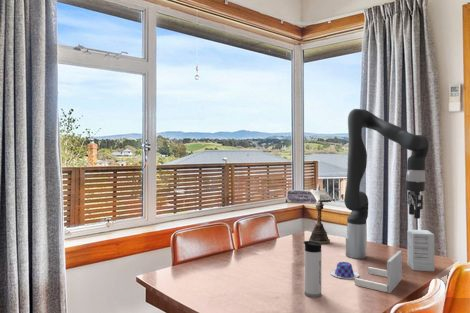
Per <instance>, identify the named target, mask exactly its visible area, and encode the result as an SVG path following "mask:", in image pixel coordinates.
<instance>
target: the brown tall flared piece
mask: <svg viewBox="0 0 470 313" xmlns="http://www.w3.org/2000/svg"><path fill="white" fill-rule="evenodd" d="M316 186H317V187H316V190H315V189H313V188H310V189H309V191H310V193H311V194H312V196H314V199H315V200H316V201H315V204H314V205H315V210H316V212H317V214H316V215H317V216H316V218H317V220H316V221H317V222H316V223H315V224H314V228H313V229H312V231H311V235H310V236H309V238H308V241H313V242H318V243H320V244H321V245H328V244H329V243H331V239H329V236H328V232H327V230H326V229H325V227H324V224H323V223H322V217H323V216H322V211H323V209H324V205H325V204H324V203H331V202H332V201H333V202H334V203H336V202H335V200H336V199H335V198H332V197H331V195H330V194H329V192H328V191H327V187H326V186H325V188H322V190H321V189H320V188H321V187H320V186H321V185H320V184H319V183H317V185H316Z"/></svg>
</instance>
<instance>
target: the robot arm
mask: <svg viewBox="0 0 470 313" xmlns="http://www.w3.org/2000/svg"><path fill="white" fill-rule="evenodd" d="M364 128H366V129H370V130H373V131H376V132H377V133H378V134H380V135H381V136H383V137H384V138H386V139H388V140H389V141H392V142H395V143H397V144H398V145H399V146H401V147H403V149H406V150H409V151H411V155H410V156H408V158H407V162H406V164H407V165H406V166H407V167H406V174H405V176H406V177H405V191H407V204H408V205H407V206H408V214H409V215H412V216H413V218H414V219H418V220H419V219H421V211H422V210H423V207H424V205H423V204H424V202H423V201H424V200H423V199H424V198H423V197H424V195H421V192H422V193H423V192H425V190H426V169H425V168H426V159H427V155H428V151H429V146H430V145H429V140H428V138H427V137H426V136H424V135H422V134H413V133H410V132H409V131H408V130H407V129H405V128H403V127H400V126H398V125H396V124H393V123H392V122H388V121H386V120H383V119H381V118H379V116H377V115H375V114H374V113H372V112H371V111H369V110H367V109H361V108H353V109H352V110H350V111H349V113H348V116H347V129H348V147H347V148H348V149H347V150H348V151H347V169H346V170H347V172H346V186H345V191H344V200H343V201H344V205H345V207H346V208H347V210H349V211H351V212H350V213H349V215H348V216H347V218H346V220H347V222H346V223H347V226H346V227H347V228H346V229H347V230H346V237H345V256H346V257H348V258H352V259H356V260H358V259H360V260H361V259H366V257H367V219H368V217H369V198H368V196H367V194H366V193H365V192H364V191H360V190H361V188H360V187H361V182H362V179H363V177H364V174H365V172H366V170H367V165H368V164H367V162H368V152H367V148H366V146H365V143H364V141H363V129H364Z"/></svg>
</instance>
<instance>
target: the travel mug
mask: <svg viewBox="0 0 470 313" xmlns="http://www.w3.org/2000/svg"><path fill="white" fill-rule="evenodd" d="M303 244H304V295H305V296H307V297H311V298H319V297H321V296H322V244H320V243H318V242H313V241H309V240H305V241H303Z"/></svg>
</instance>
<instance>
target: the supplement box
mask: <svg viewBox="0 0 470 313" xmlns="http://www.w3.org/2000/svg"><path fill="white" fill-rule="evenodd" d="M406 264H407V265H408V266H409V267H410V269H411V270H412V271H422V272H435V234H434V233H433V232H431V231H430V230H427V229H407V262H406Z"/></svg>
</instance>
